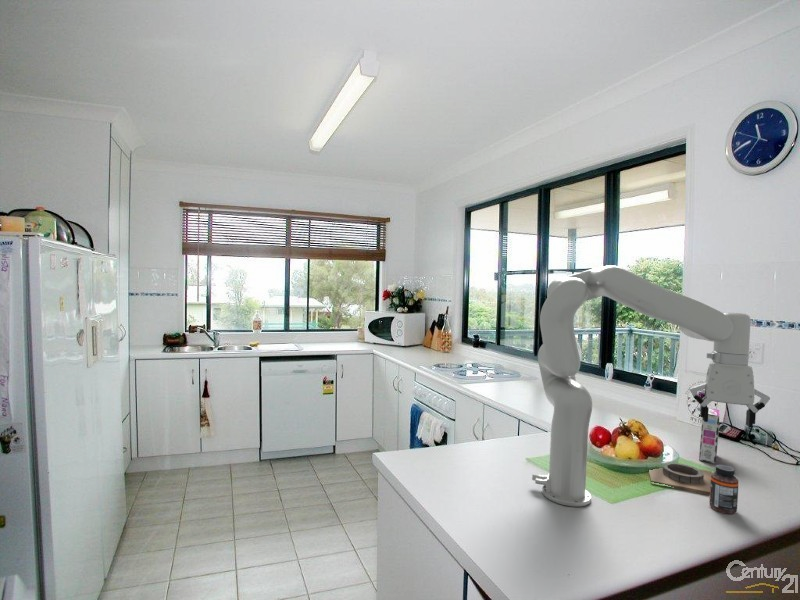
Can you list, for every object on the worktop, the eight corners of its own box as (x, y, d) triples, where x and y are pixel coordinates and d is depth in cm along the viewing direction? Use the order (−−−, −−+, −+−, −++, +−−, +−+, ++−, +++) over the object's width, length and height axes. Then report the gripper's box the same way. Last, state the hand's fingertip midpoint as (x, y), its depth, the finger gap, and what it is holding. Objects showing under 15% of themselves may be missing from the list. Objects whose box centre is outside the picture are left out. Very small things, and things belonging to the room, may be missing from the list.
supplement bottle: (710, 501, 122) (712, 461, 121) (737, 509, 118) (739, 467, 118) (708, 509, 117) (710, 467, 117) (736, 517, 113) (739, 474, 113)
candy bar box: (716, 464, 149) (719, 416, 148) (698, 460, 152) (701, 413, 151) (716, 454, 158) (719, 409, 157) (699, 451, 161) (702, 406, 160)
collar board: (651, 484, 132) (651, 474, 132) (646, 462, 148) (646, 454, 148) (724, 498, 124) (725, 487, 124) (711, 474, 140) (711, 465, 140)
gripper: (694, 358, 118) (690, 422, 118) (776, 365, 110) (772, 433, 111) (689, 354, 124) (686, 415, 125) (766, 360, 117) (762, 424, 118)
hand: (726, 423), depth 118 cm, fingers open, 9 cm apart
